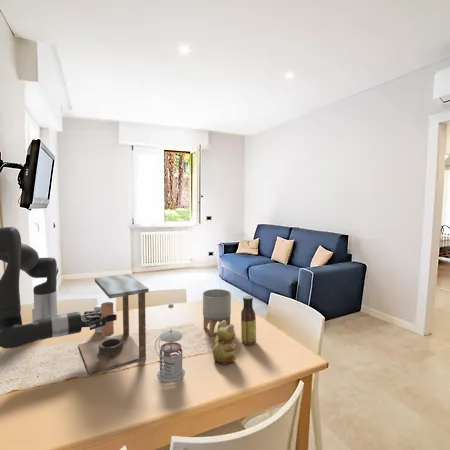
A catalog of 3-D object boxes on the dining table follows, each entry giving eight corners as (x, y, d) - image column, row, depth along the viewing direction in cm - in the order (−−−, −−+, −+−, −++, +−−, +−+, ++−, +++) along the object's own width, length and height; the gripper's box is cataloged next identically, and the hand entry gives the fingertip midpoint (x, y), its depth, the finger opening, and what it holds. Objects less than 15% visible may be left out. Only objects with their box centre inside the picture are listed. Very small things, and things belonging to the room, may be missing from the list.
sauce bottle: (257, 340, 129) (258, 295, 127) (254, 347, 123) (254, 300, 122) (242, 338, 131) (243, 294, 130) (238, 344, 125) (239, 298, 124)
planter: (197, 333, 135) (198, 295, 134) (209, 323, 147) (210, 287, 146) (224, 339, 130) (224, 299, 129) (234, 327, 142) (234, 291, 141)
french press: (172, 385, 97) (171, 311, 95) (147, 374, 103) (146, 304, 101) (191, 371, 105) (191, 302, 103) (166, 361, 111) (166, 296, 109)
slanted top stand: (89, 376, 102) (87, 298, 99) (78, 345, 123) (76, 280, 121) (149, 358, 113) (148, 288, 111) (129, 333, 135) (128, 274, 133)
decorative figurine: (240, 361, 112) (240, 323, 111) (224, 370, 106) (225, 329, 105) (222, 352, 119) (222, 315, 117) (206, 360, 113) (206, 321, 111)
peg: (99, 336, 115) (98, 305, 114) (105, 331, 119) (104, 301, 118) (110, 336, 114) (109, 306, 113) (115, 331, 118) (115, 302, 118)
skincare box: (111, 329, 139) (111, 304, 138) (107, 333, 135) (106, 307, 134) (99, 328, 139) (98, 303, 138) (94, 332, 135) (93, 306, 134)
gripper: (68, 321, 102) (119, 311, 111) (63, 308, 114) (110, 300, 123) (68, 342, 102) (119, 330, 112) (64, 327, 114) (110, 318, 124)
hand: (114, 315), depth 118 cm, fingers closed on peg, 4 cm apart
